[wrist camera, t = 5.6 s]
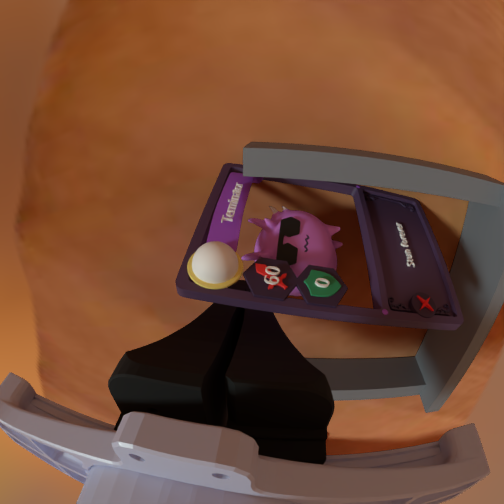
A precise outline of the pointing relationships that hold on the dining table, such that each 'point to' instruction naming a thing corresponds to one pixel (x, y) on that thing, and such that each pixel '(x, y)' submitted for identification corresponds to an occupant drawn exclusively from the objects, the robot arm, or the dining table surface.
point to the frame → (462, 272)
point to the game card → (321, 258)
